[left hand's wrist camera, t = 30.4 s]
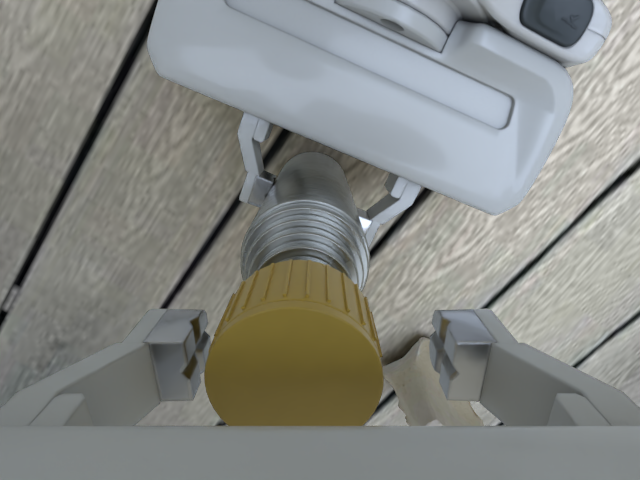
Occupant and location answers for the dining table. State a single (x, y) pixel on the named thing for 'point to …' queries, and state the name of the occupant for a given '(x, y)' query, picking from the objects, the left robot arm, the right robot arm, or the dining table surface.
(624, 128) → the dining table surface
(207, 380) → the cap
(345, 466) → the left robot arm
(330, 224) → the bottle
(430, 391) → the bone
